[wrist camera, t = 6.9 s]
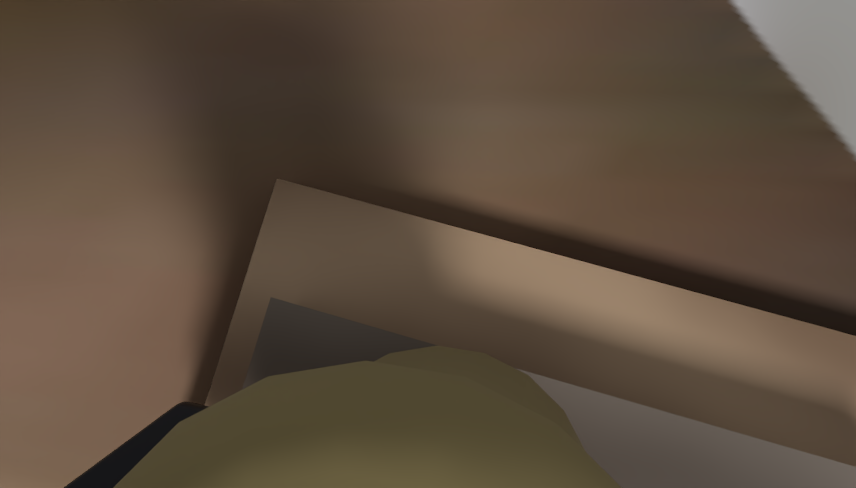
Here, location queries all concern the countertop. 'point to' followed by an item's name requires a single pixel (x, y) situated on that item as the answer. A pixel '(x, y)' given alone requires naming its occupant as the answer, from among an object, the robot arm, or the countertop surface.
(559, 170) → the countertop surface
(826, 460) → the slab
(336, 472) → the cork
